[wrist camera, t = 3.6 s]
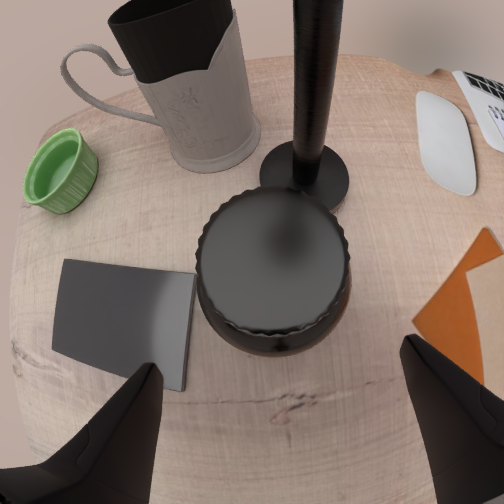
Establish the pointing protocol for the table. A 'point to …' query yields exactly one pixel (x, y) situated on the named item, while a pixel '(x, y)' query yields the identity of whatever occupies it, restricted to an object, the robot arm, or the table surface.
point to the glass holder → (185, 78)
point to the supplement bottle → (273, 271)
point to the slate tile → (125, 318)
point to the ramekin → (60, 172)
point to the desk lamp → (311, 109)
